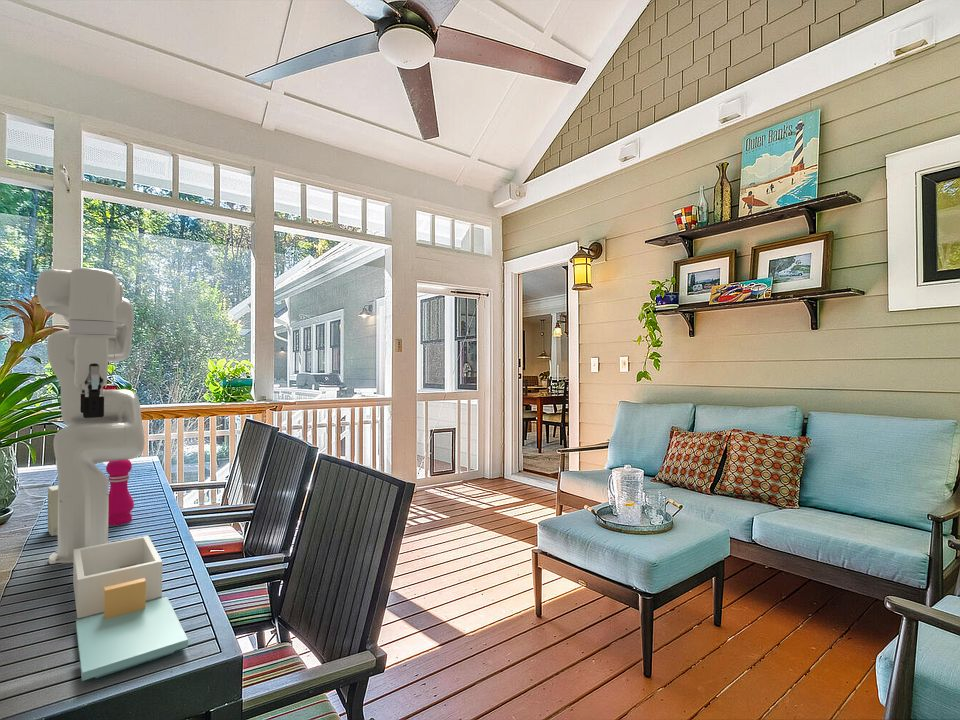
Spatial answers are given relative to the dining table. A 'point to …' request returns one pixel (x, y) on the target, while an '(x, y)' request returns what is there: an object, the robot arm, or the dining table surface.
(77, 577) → the tub
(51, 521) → the skincare box
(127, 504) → the pepper mill
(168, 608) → the lid
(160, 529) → the dining table surface
